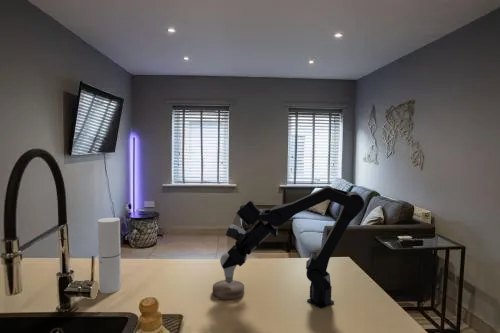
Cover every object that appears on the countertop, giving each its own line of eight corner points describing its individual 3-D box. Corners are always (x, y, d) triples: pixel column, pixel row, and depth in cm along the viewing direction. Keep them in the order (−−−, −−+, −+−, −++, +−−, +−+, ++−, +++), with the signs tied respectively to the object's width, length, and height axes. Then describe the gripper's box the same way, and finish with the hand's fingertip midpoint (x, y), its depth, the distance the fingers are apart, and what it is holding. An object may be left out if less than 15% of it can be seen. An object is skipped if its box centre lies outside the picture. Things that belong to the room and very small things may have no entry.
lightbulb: (235, 278, 126) (235, 248, 125) (239, 285, 120) (239, 254, 119) (218, 280, 124) (218, 250, 123) (222, 287, 118) (222, 255, 117)
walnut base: (250, 294, 122) (250, 287, 121) (224, 303, 115) (224, 296, 115) (231, 283, 130) (232, 277, 130) (206, 291, 123) (206, 284, 123)
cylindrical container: (113, 294, 120) (112, 222, 118) (95, 292, 122) (93, 221, 120) (124, 285, 127) (123, 218, 125) (107, 283, 129) (105, 216, 127)
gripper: (245, 211, 129) (216, 239, 132) (233, 224, 110) (200, 256, 113) (266, 234, 128) (237, 261, 131) (258, 250, 109) (224, 281, 112)
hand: (225, 264), depth 122 cm, fingers closed on lightbulb, 6 cm apart
